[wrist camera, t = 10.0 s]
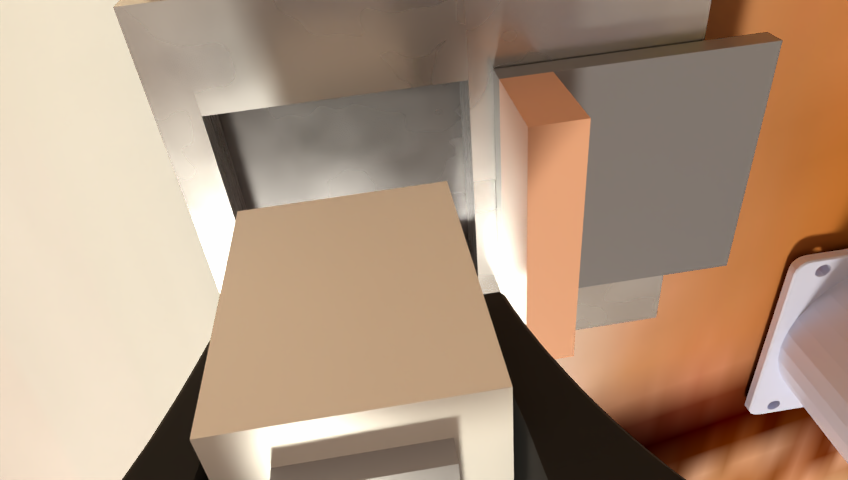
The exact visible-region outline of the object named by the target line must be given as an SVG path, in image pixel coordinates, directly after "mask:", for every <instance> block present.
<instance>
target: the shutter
mask: <svg viewBox="0 0 848 480" xmlns="http://www.w3.org/2000/svg"><path fill="white" fill-rule="evenodd" d="M781 44H782V40H781V39H779V38H777V37H775V36H774V35H772V34H770V33H768V32H763V33H756V34H749V35H741V36H734V37H727V38H719V39H712V40H704V41H697V42H690V43H682V44H675V45H667V46H660V47H653V48H645V49H638V50H631V51H623V52H616V53H608V54H601V55H594V56H586V57H579V58H571V59H564V60H557V61H549V62H542V63H534V64H527V65H520V66H512V67H505V68H498V69H493V83H494V122H495V162H496V201H497V241H498V280H499V288H500V291H501V293H502V294H503V295H505V296H506V298H507V299H508V301H509V302H510V304H511V305H512V307H513V308H514V310H515V311H516V312H517V314H518V315H519V316H520V318H521V319H522V320H523V322H524V323H525V324H526V326H527V327H528V328H529V330H530V331H531V332H532V333H533V334H534V336H535V337H536V338H537V339H538V341H539V342H540V343H541V344H542V346H543V347H544V348H545V349H546V350H547V351H548V353H549V354H550V355H551V356H552V357H553V358H554V359H558V358H564V357H571V356H574V342H575V328H576V315H577V301H578V288H583V287H590V286H596V285H602V284H609V283H615V282H622V281H628V280H635V279H641V278H648V277H654V276H661V275H667V274H674V273H680V272H687V271H693V270H700V269H706V268H713V267H719V266H726V265H727V262H728V258H729V254H730V250H731V246H732V242H733V238H734V234H735V230H736V226H737V221H738V217H739V213H740V209H741V205H742V201H743V197H744V193H745V189H746V185H747V181H748V177H749V173H750V169H751V165H752V161H753V157H754V153H755V149H756V145H757V141H758V137H759V133H760V129H761V125H762V121H763V117H764V113H765V109H766V105H767V101H768V97H769V93H770V89H771V85H772V81H773V77H774V73H775V69H776V64H777V60H778V56H779V52H780V48H781Z"/></svg>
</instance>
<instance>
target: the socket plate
mask: <svg viewBox="0 0 848 480" xmlns="http://www.w3.org/2000/svg"><path fill="white" fill-rule="evenodd" d="M710 5H711V0H120V1H119V2H118V3H117V4H116V5H115V6H114V7H113V8H114V10H115V13H116V16H117V18H118V21H119V24H120V26H121V29H122V32H123V34H124V37H125V40H126V43H127V45H128V48H129V51H130V53H131V56H132V59H133V61H134V64H135V67H136V69H137V72H138V75H139V78H140V80H141V83H142V86H143V88H144V91H145V94H146V96H147V99H148V102H149V104H150V107H151V110H152V113H153V115H154V118H155V121H156V123H157V126H158V129H159V131H160V134H161V137H162V139H163V142H164V145H165V148H166V150H167V153H168V156H169V158H170V161H171V164H172V166H173V169H174V172H175V174H176V177H177V180H178V183H179V185H180V188H181V191H182V193H183V196H184V199H185V201H186V204H187V207H188V209H189V212H190V215H191V218H192V220H193V223H194V226H195V228H196V231H197V234H198V236H199V239H200V242H201V244H202V247H203V250H204V253H205V255H206V258H207V261H208V263H209V266H210V269H211V271H212V274H213V277H214V279H215V282H216V285H217V288H218V290H219V293H220V292H221V287H222V282H223V278H224V273H225V268H226V263H227V259H228V254H229V249H230V244H231V240H232V235H233V230H234V225H235V221H236V216H237V211H243V210H250V209H257V208H264V207H271V206H277V205H284V204H291V203H298V202H305V201H312V200H319V199H326V198H333V197H340V196H346V195H353V194H360V193H367V192H374V191H381V190H388V189H395V188H402V187H408V186H415V185H422V184H429V183H436V182H443V181H447V183H448V186H449V189H450V192H451V195H452V198H453V202H454V205H455V208H456V211H457V214H458V217H459V220H460V223H461V227H462V230H463V233H464V236H465V239H466V242H467V245H468V249H469V252H470V255H471V258H472V261H473V264H474V267H475V270H476V274H477V277H478V280H479V283H480V286H481V289H482V292H483V294H488V293H494V292H500V293H501V291H500V288H499V280H498V241H497V201H496V162H495V122H494V83H493V69H498V68H505V67H512V66H520V65H527V64H534V63H542V62H549V61H557V60H564V59H571V58H579V57H586V56H594V55H601V54H608V53H616V52H623V51H631V50H638V49H645V48H653V47H660V46H667V45H675V44H682V43H690V42H697V41H704V40H705V34H706V28H707V22H708V17H709V11H710ZM662 280H663V275H661V276H654V277H648V278H641V279H635V280H628V281H622V282H615V283H609V284H602V285H596V286H590V287H583V288H578V301H577V315H576V328H575V330H579V329H585V328H592V327H598V326H604V325H611V324H617V323H623V322H630V321H636V320H642V319H649V318H655V317H656V314H657V309H658V303H659V297H660V292H661V286H662Z"/></svg>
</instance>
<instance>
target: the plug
mask: <svg viewBox="0 0 848 480" xmlns="http://www.w3.org/2000/svg"><path fill="white" fill-rule="evenodd" d="M190 442H191V444H192V446H193V448H194V450H195V452H196V454H197V456H198V458H199V460H200V462H201V464H202V466H203V468H204V470H205V472H206V474H207V476H208V478H209V480H514V451H513V386H512V383H511V380H510V377H509V374H508V371H507V368H506V364H505V361H504V358H503V355H502V352H501V349H500V346H499V342H498V339H497V336H496V333H495V330H494V327H493V324H492V321H491V317H490V314H489V311H488V308H487V305H486V302H485V299H484V295H483V292H482V289H481V286H480V283H479V280H478V277H477V274H476V270H475V267H474V264H473V261H472V258H471V255H470V252H469V249H468V245H467V242H466V239H465V236H464V233H463V230H462V227H461V223H460V220H459V217H458V214H457V211H456V208H455V205H454V202H453V198H452V195H451V192H450V189H449V186H448V183H447V181H443V182H436V183H429V184H422V185H415V186H408V187H402V188H395V189H388V190H381V191H374V192H367V193H360V194H353V195H346V196H340V197H333V198H326V199H319V200H312V201H305V202H298V203H291V204H284V205H277V206H271V207H264V208H257V209H250V210H243V211H237V216H236V221H235V225H234V230H233V235H232V240H231V244H230V249H229V254H228V259H227V263H226V268H225V273H224V278H223V282H222V287H221V292H220V297H219V302H218V306H217V311H216V316H215V321H214V325H213V330H212V335H211V340H210V344H209V349H208V354H207V359H206V363H205V368H204V373H203V378H202V383H201V387H200V392H199V397H198V402H197V406H196V411H195V416H194V421H193V425H192V430H191V435H190Z"/></svg>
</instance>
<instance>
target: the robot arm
mask: <svg viewBox="0 0 848 480" xmlns="http://www.w3.org/2000/svg"><path fill="white" fill-rule="evenodd" d="M483 295H484V299H485V302H486V305H487V308H488V311H489V314H490V317H491V321H492V324H493V327H494V330H495V333H496V336H497V339H498V342H499V346H500V349H501V352H502V355H503V358H504V361H505V364H506V368H507V371H508V374H509V377H510V380H511V383H512V386H513V451H514V480H686V479H684V478H683V477H681V476H680V475H679V474H677V473H676V472H675V471H673V470H672V469H671V468H670V467H668V466H667V465H666V464H665V463H663V462H662V461H661V460H660V459H658V458H657V457H656V456H655V455H654V454H652V453H651V452H650V451H649V450H647V449H646V448H645V447H644V446H643V445H641V444H640V443H639V442H638V441H637V440H636V439H634V438H633V437H632V436H631V435H630V434H629V433H627V432H626V431H625V430H624V429H623V428H622V427H621V426H620V425H619V424H617V423H616V422H615V421H614V420H613V419H612V418H611V417H610V416H609V415H608V414H607V413H606V412H605V411H603V410H602V409H601V408H600V407H599V406H598V405H597V404H596V403H595V402H594V401H593V400H592V399H591V398H590V397H589V396H588V395H587V394H586V393H585V392H584V391H583V390H582V389H581V388H580V387H579V386H578V384H577V383H576V382H575V381H574V380H573V379H572V378H571V377H570V376H569V375H568V374H567V373H566V372H565V370H564V369H563V368H562V367H561V366H560V365H559V364H558V363H557V362H556V360H555V359H554V358H553V357H552V356H551V355H550V354H549V353H548V351H547V350H546V349H545V348H544V347H543V346H542V344H541V343H540V342H539V341H538V339H537V338H536V337H535V336H534V334H533V333H532V332H531V331H530V330H529V328H528V327H527V326H526V324H525V323H524V322H523V320H522V319H521V318H520V316H519V315H518V314H517V312H516V311H515V310H514V308H513V307H512V305H511V304H510V302H509V301H508V299H507V298H506V296H505V295H503V294H502V293H500V292H494V293H488V294H483ZM209 344H210V341H209V343H208V345H207V347H206V348H205V350H204V352H203V354H202V355H201V357H200V359H199V361H198V362H197V364H196V366H195V367H194V369H193V371H192V373H191V374H190V376H189V378H188V380H187V381H186V383H185V385H184V386H183V388H182V390H181V391H180V393H179V395H178V396H177V398H176V400H175V401H174V403H173V404H172V406H171V408H170V409H169V411H168V412H167V414H166V415H165V417H164V419H163V420H162V422H161V423H160V425H159V426H158V428H157V430H156V431H155V433H154V434H153V436H152V437H151V439H150V440H149V442H148V443H147V445H146V446H145V448H144V449H143V451H142V452H141V453H140V455H139V456H138V458H137V459H136V461H135V462H134V463H133V465H132V466H131V468H130V469H129V471H128V472H127V473H126V475H125V476H124V478H123V479H122V480H209V478H208V476H207V474H206V472H205V470H204V468H203V466H202V464H201V462H200V460H199V458H198V456H197V454H196V452H195V450H194V448H193V446H192V444H191V442H190V435H191V430H192V425H193V421H194V416H195V411H196V406H197V402H198V397H199V392H200V387H201V383H202V378H203V373H204V368H205V363H206V359H207V354H208V349H209ZM745 406H746V407H747V409H748V410H749V411H750V413H752V414H764V413H770V412H776V411H782V410H788V409H794V408H800V407H804V408H805V409H806V410H807V412H808V413H809V414H810V415H811V417H812V418H813V419H814V421H815V422H816V423H817V424H818V426H819V427H820V428H821V430H822V431H823V432H824V434H825V435H826V436H827V437H828V439H829V440H830V441H831V443H832V444H833V445H834V446H835V448H836V449H837V450H838V452H839V453H840V454H841V455H842V457H843V458H844V459H845V461H846V462H847V463H848V249H842V250H836V251H829V252H823V253H817V254H810V255H805V256H801V257H799V258H797V259H796V260H794V261H793V262H792V263H791V265H790V267H789V269H788V272H787V275H786V278H785V281H784V284H783V287H782V290H781V293H780V297H779V300H778V303H777V306H776V309H775V312H774V315H773V318H772V321H771V324H770V327H769V331H768V334H767V337H766V340H765V343H764V346H763V349H762V352H761V355H760V358H759V361H758V364H757V368H756V371H755V374H754V377H753V380H752V383H751V386H750V389H749V392H748V395H747V398H746V402H745Z"/></svg>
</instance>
